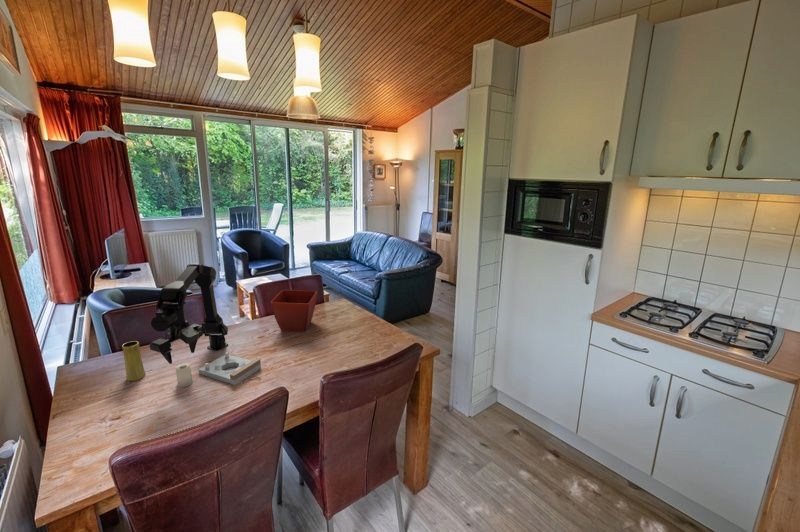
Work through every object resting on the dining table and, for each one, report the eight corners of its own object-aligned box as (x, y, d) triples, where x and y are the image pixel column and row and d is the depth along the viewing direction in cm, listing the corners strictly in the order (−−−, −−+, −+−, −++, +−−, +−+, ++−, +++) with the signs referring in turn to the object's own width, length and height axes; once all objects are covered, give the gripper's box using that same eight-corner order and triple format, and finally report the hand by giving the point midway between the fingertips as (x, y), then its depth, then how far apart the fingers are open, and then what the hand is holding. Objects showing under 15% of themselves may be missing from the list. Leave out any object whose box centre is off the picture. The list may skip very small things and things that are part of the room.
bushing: (174, 384, 143) (172, 368, 141) (186, 378, 148) (184, 362, 146) (184, 388, 141) (181, 371, 139) (195, 381, 146) (193, 365, 144)
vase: (149, 374, 150) (143, 341, 146) (134, 382, 144) (128, 348, 140) (138, 371, 152) (132, 339, 148) (122, 379, 146) (116, 346, 142)
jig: (199, 373, 151) (198, 364, 150) (226, 358, 164) (226, 349, 162) (234, 385, 144) (233, 375, 143) (261, 367, 157) (260, 359, 155)
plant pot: (309, 334, 188) (308, 303, 183) (272, 333, 188) (269, 302, 183) (318, 319, 206) (317, 290, 202) (283, 318, 206) (282, 289, 202)
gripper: (167, 334, 126) (173, 375, 130) (213, 314, 143) (217, 351, 147) (145, 327, 130) (152, 367, 135) (192, 309, 147) (197, 345, 151)
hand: (181, 357), depth 142 cm, fingers open, 9 cm apart
